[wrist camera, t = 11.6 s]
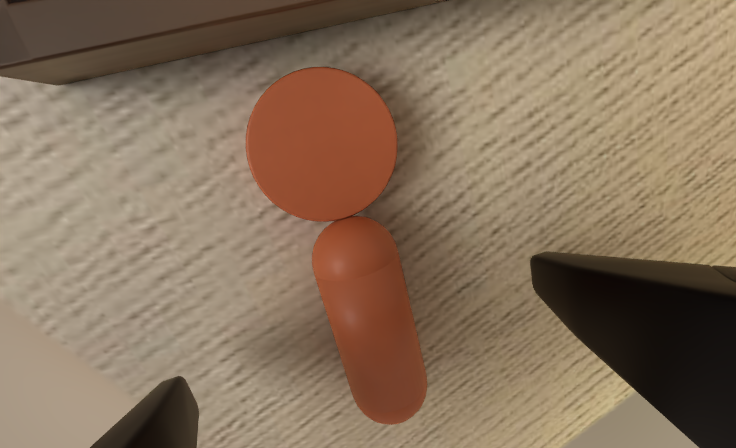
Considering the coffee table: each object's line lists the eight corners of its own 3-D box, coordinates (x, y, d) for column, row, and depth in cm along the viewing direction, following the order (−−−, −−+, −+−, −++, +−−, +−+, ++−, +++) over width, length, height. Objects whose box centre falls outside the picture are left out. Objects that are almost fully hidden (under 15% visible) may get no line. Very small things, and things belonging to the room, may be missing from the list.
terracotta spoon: (436, 366, 11) (467, 416, 9) (334, 404, 11) (346, 465, 9) (369, 58, 8) (394, 40, 6) (228, 91, 8) (212, 81, 6)
